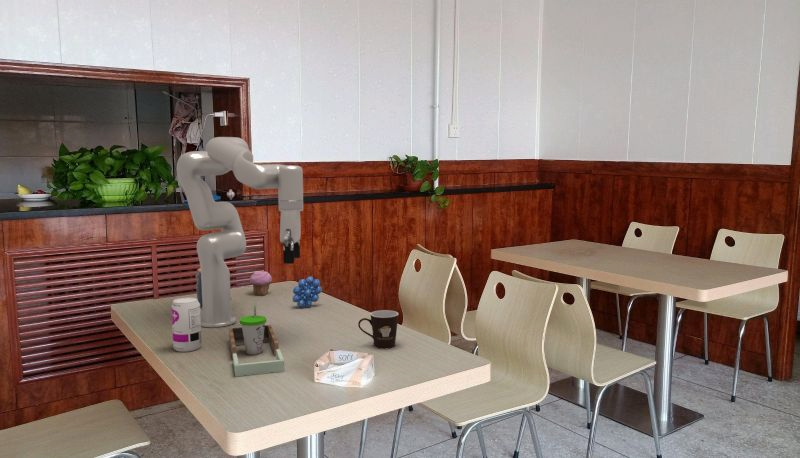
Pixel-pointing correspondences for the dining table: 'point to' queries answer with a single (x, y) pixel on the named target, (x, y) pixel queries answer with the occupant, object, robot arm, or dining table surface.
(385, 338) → the coffee mug
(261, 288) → the cupcake
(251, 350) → the cup
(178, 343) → the supplement can
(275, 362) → the bay
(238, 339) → the brown wooden tray
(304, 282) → the grapes
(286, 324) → the dining table surface
